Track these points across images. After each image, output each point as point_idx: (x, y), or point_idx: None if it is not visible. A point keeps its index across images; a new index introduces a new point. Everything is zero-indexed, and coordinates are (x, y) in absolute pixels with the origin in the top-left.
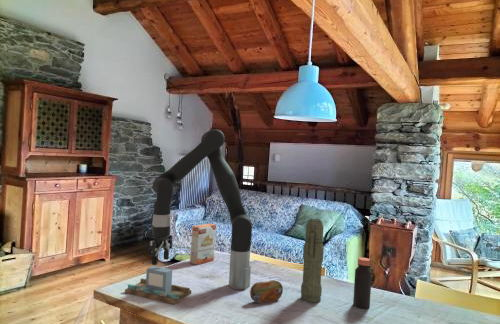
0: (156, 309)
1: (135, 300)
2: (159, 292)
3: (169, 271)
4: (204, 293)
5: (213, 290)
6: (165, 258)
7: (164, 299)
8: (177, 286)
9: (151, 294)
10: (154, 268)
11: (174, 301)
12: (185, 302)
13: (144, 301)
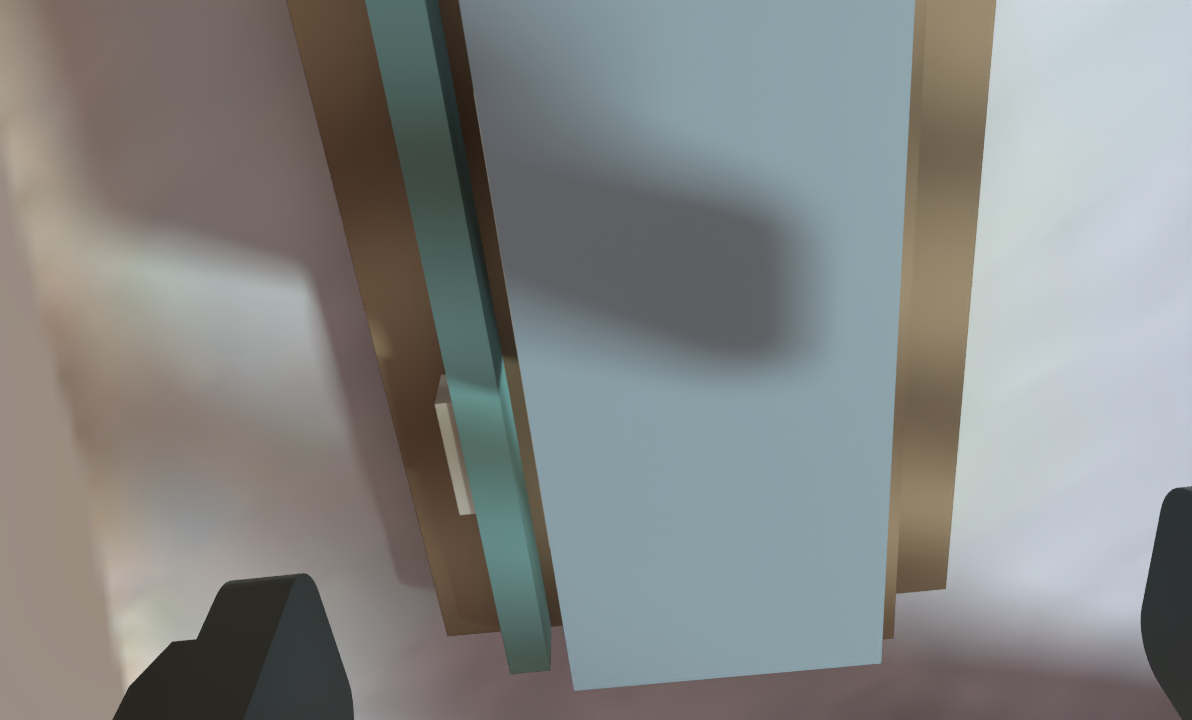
0: (158, 518)
1: (103, 11)
2: (450, 367)
3: (736, 663)
4: (1023, 664)
5: None
6: (1177, 591)
7: (412, 475)
8: None
9: (384, 204)
10: (668, 212)
11: (448, 621)
12: None
13: (206, 186)
